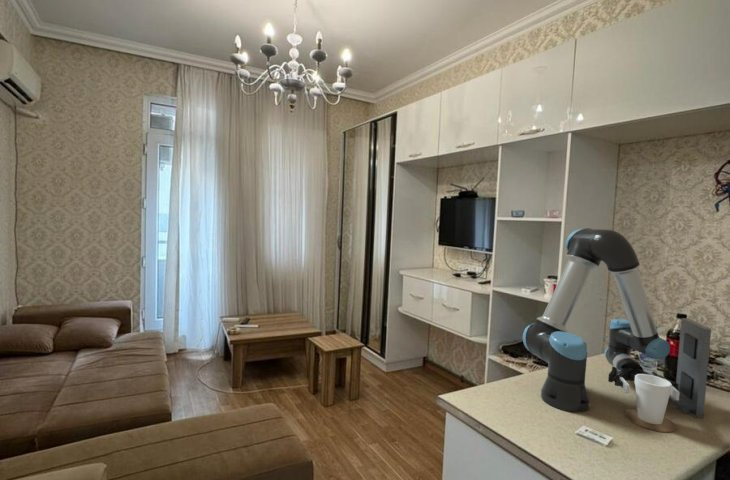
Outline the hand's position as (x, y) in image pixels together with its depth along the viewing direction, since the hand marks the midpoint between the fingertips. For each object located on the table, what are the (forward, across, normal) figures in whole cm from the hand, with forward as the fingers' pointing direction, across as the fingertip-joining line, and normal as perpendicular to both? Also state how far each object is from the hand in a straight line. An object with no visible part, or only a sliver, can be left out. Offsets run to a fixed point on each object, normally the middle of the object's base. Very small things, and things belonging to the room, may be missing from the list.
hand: (652, 392), depth 121 cm
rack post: (-15, -15, -9) cm, 24 cm away
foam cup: (0, 0, -9) cm, 9 cm away
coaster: (0, 0, -10) cm, 10 cm away
